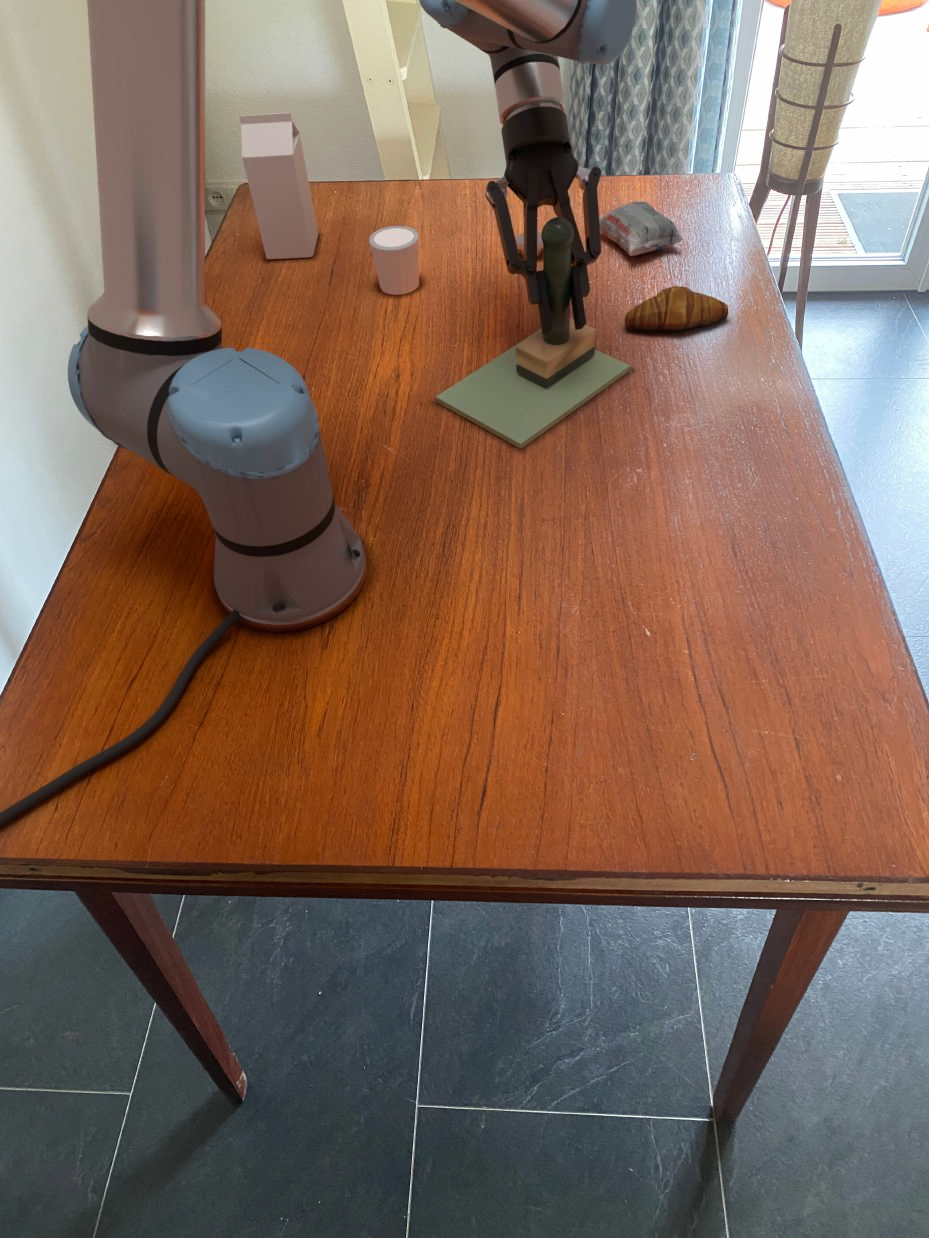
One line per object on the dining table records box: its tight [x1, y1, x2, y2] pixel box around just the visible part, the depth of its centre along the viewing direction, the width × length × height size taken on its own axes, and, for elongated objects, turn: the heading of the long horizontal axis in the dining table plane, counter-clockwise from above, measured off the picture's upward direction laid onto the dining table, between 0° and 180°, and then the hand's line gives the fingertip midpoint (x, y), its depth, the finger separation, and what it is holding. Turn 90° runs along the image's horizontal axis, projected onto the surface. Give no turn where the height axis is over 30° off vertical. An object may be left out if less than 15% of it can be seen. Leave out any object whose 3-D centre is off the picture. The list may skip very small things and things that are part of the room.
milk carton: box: [239, 111, 319, 260], centre depth 131 cm, size 7×7×19 cm
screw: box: [515, 210, 543, 258], centre depth 127 cm, size 13×5×5 cm
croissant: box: [624, 285, 729, 332], centre depth 116 cm, size 14×7×5 cm, turn 95°
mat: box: [435, 328, 631, 450], centre depth 111 cm, size 20×14×1 cm
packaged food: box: [599, 201, 683, 257], centre depth 130 cm, size 9×12×5 cm
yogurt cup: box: [368, 225, 420, 296], centre depth 126 cm, size 7×7×7 cm
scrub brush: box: [516, 216, 597, 387], centre depth 105 cm, size 9×5×18 cm, turn 135°
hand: (564, 328), depth 104 cm, fingers closed on scrub brush, 3 cm apart
